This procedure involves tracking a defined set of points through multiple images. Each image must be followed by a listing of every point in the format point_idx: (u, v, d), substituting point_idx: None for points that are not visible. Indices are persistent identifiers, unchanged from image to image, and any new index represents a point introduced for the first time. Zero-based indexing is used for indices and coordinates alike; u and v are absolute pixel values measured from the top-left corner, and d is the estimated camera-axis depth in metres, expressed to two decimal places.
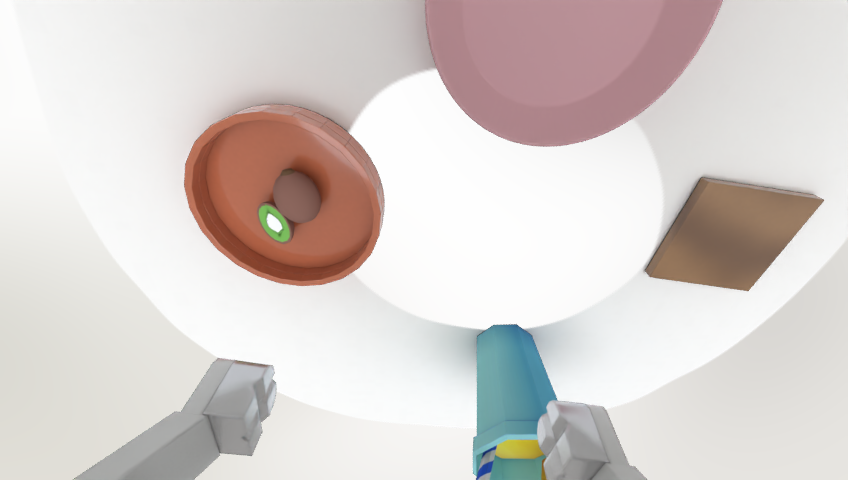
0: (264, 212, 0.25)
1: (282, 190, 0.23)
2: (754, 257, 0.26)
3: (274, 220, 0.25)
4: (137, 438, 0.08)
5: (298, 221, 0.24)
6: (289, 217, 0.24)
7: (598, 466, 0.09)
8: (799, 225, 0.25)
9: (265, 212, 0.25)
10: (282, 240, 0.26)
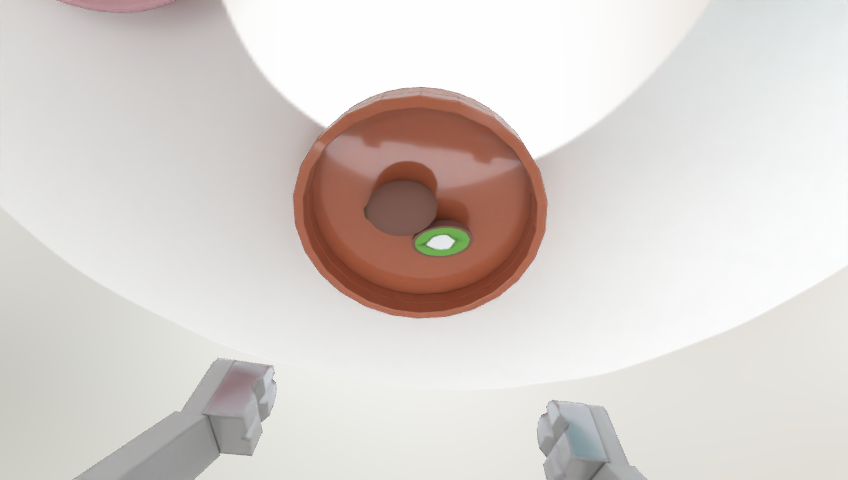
0: (426, 249, 0.20)
1: (381, 225, 0.18)
2: None
3: (436, 241, 0.20)
4: (137, 438, 0.08)
5: (428, 215, 0.18)
6: (420, 224, 0.18)
7: (598, 466, 0.09)
8: None
9: (426, 248, 0.20)
10: (466, 238, 0.19)
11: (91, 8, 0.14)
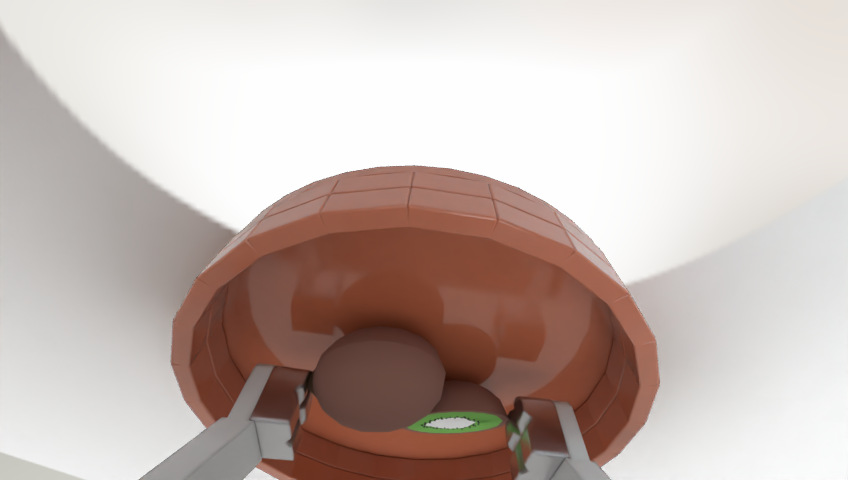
0: (425, 428, 0.11)
1: (338, 420, 0.09)
2: None
3: (442, 422, 0.11)
4: (188, 444, 0.08)
5: (428, 406, 0.09)
6: (413, 421, 0.09)
7: (559, 461, 0.09)
8: None
9: (424, 427, 0.11)
10: (496, 420, 0.11)
11: None
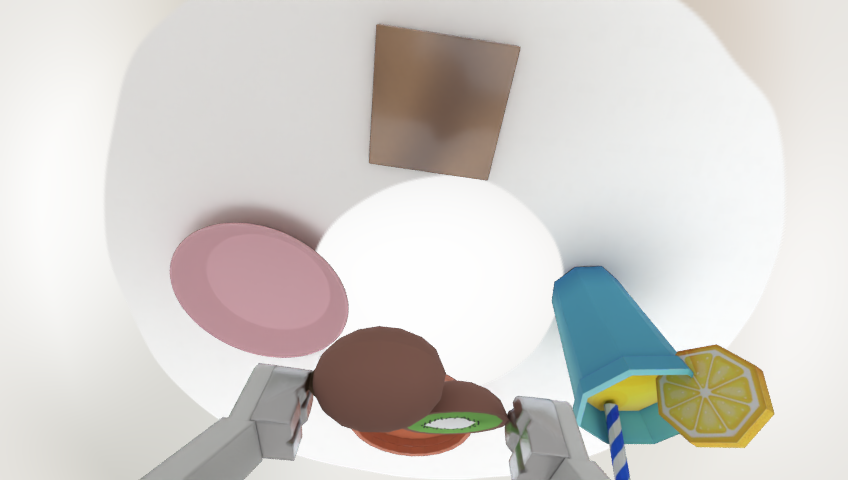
0: (425, 428, 0.11)
1: (338, 420, 0.09)
2: (461, 69, 0.21)
3: (442, 422, 0.11)
4: (189, 444, 0.08)
5: (428, 406, 0.09)
6: (413, 422, 0.09)
7: (558, 461, 0.09)
8: (413, 35, 0.20)
9: (424, 428, 0.11)
10: (496, 420, 0.11)
11: (268, 356, 0.33)
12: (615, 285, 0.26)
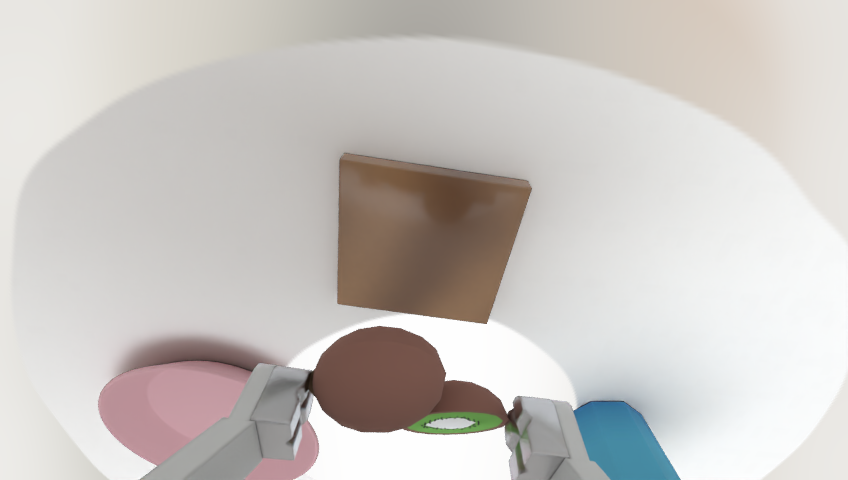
0: (425, 428, 0.11)
1: (338, 420, 0.09)
2: (453, 210, 0.16)
3: (442, 422, 0.11)
4: (189, 444, 0.08)
5: (428, 406, 0.09)
6: (413, 422, 0.09)
7: (558, 461, 0.09)
8: (388, 173, 0.15)
9: (424, 428, 0.11)
10: (496, 420, 0.11)
11: None
12: (642, 439, 0.21)
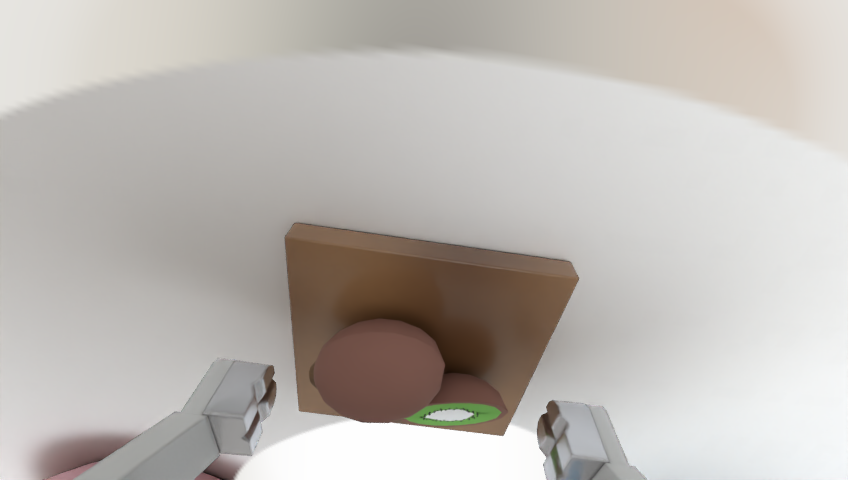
0: (424, 420, 0.12)
1: (339, 411, 0.10)
2: (459, 305, 0.10)
3: (441, 414, 0.11)
4: (137, 438, 0.08)
5: (427, 396, 0.09)
6: (412, 412, 0.10)
7: (598, 466, 0.09)
8: (361, 256, 0.10)
9: (424, 419, 0.12)
10: (495, 411, 0.11)
11: None
12: None
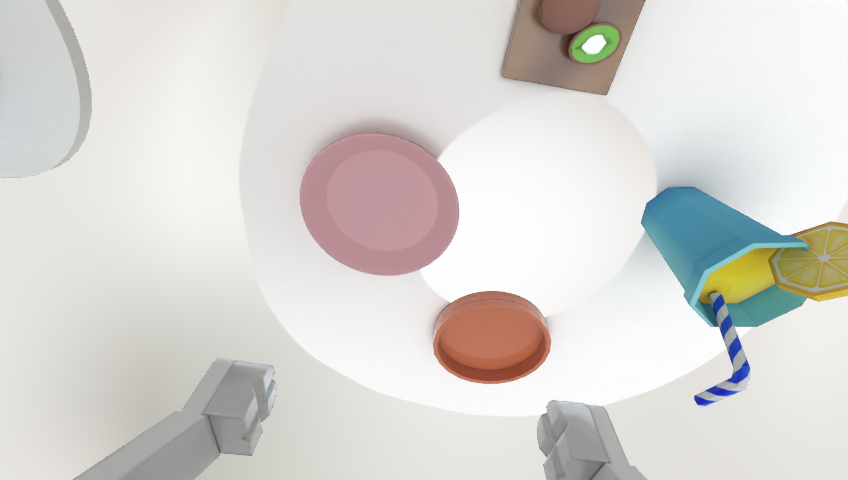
0: (579, 53, 0.25)
1: (557, 15, 0.23)
2: None
3: (590, 42, 0.24)
4: (137, 438, 0.08)
5: (596, 6, 0.22)
6: (589, 15, 0.22)
7: (598, 466, 0.09)
8: None
9: (579, 52, 0.24)
10: (616, 39, 0.24)
11: None
12: (712, 198, 0.29)
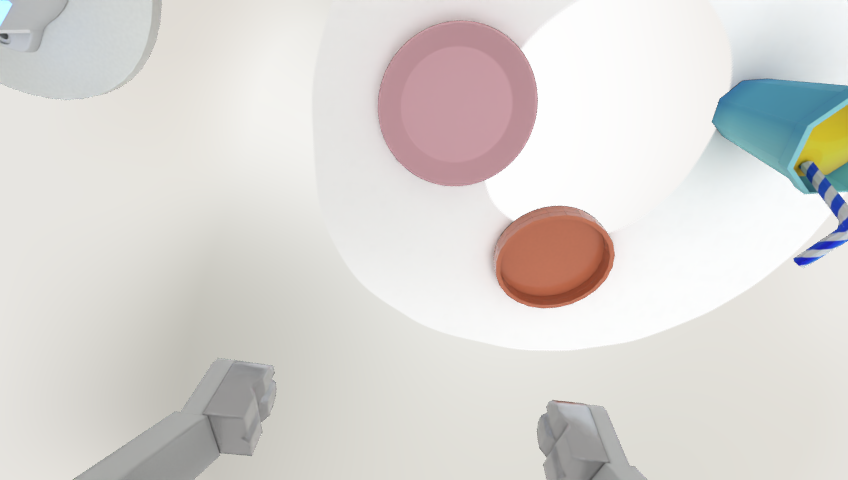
0: None
1: None
2: None
3: None
4: (137, 438, 0.08)
5: None
6: None
7: (598, 466, 0.09)
8: None
9: None
10: None
11: (443, 184, 0.36)
12: (792, 81, 0.29)
